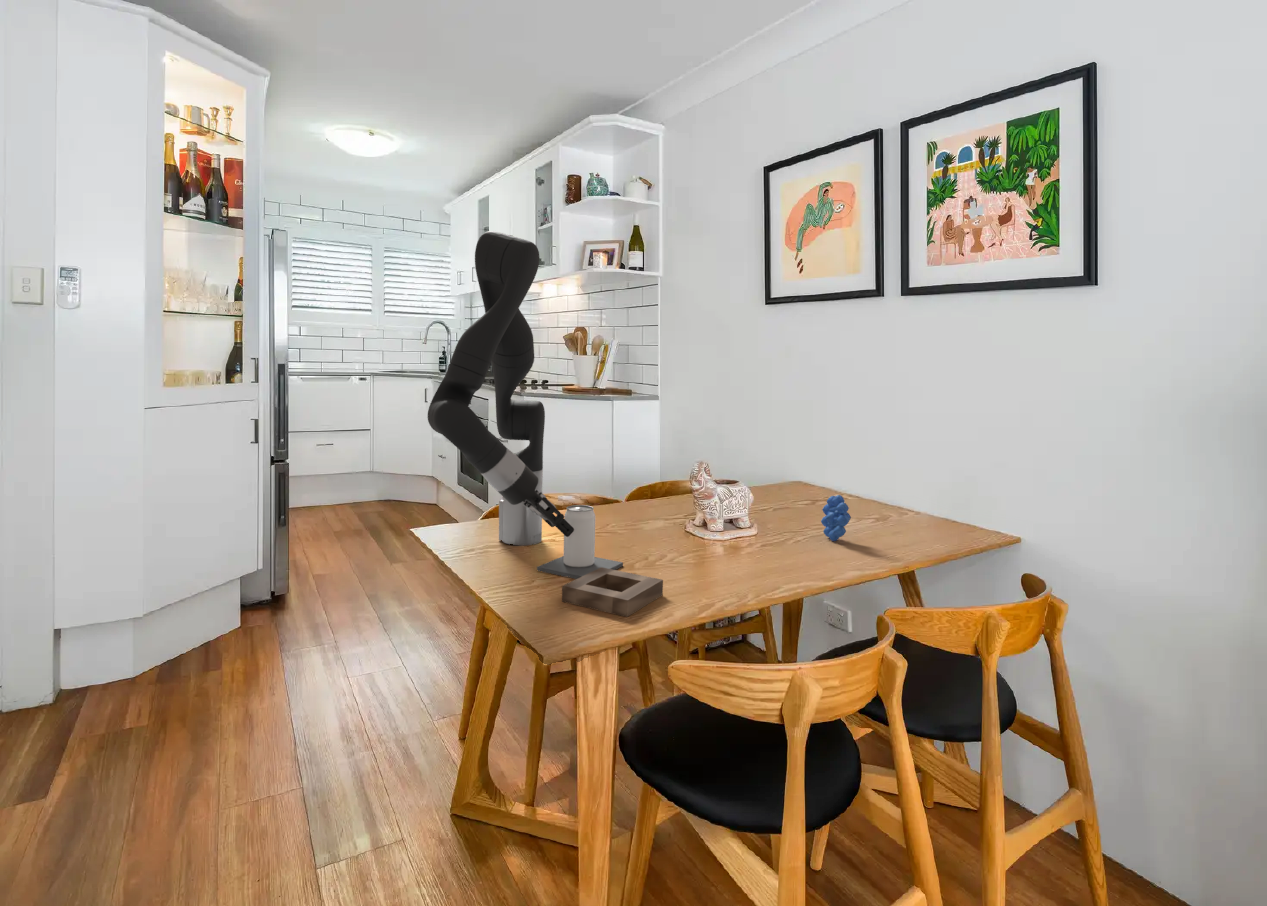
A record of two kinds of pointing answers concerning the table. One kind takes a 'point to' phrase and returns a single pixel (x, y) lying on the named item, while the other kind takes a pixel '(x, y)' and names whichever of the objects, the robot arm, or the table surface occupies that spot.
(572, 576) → the mat
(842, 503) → the grapes
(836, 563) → the table surface
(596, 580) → the collar
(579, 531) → the can
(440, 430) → the robot arm
